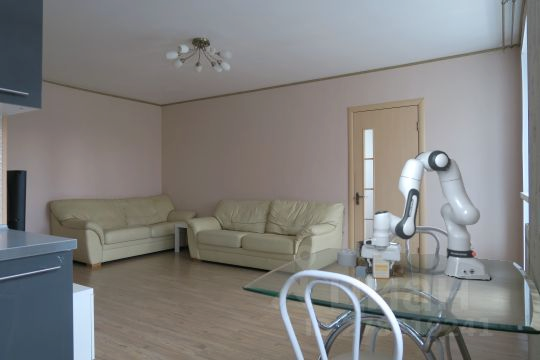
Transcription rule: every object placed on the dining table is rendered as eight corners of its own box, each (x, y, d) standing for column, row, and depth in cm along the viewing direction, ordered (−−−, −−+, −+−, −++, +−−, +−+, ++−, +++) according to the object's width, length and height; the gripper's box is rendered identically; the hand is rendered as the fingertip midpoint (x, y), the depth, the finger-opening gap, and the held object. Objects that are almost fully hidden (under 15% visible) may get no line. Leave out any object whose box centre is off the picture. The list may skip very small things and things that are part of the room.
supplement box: (387, 276, 203) (387, 252, 202) (389, 279, 198) (389, 254, 198) (371, 276, 204) (372, 251, 204) (373, 278, 199) (373, 253, 199)
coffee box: (375, 271, 214) (376, 242, 213) (368, 272, 210) (368, 243, 210) (363, 267, 221) (363, 240, 221) (355, 269, 218) (355, 241, 217)
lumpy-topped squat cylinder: (360, 266, 224) (360, 252, 224) (338, 266, 225) (338, 251, 225) (357, 262, 234) (357, 248, 234) (336, 261, 235) (336, 248, 235)
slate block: (366, 276, 204) (366, 266, 204) (365, 278, 200) (365, 269, 199) (357, 275, 206) (357, 265, 206) (355, 277, 202) (355, 268, 201)
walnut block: (403, 274, 207) (403, 265, 207) (402, 276, 203) (403, 267, 202) (394, 273, 209) (394, 264, 209) (393, 275, 205) (393, 266, 204)
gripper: (402, 242, 199) (401, 268, 199) (362, 239, 207) (362, 264, 207) (401, 244, 193) (400, 271, 193) (360, 240, 201) (360, 266, 201)
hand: (380, 267), depth 200 cm, fingers closed on supplement box, 8 cm apart
